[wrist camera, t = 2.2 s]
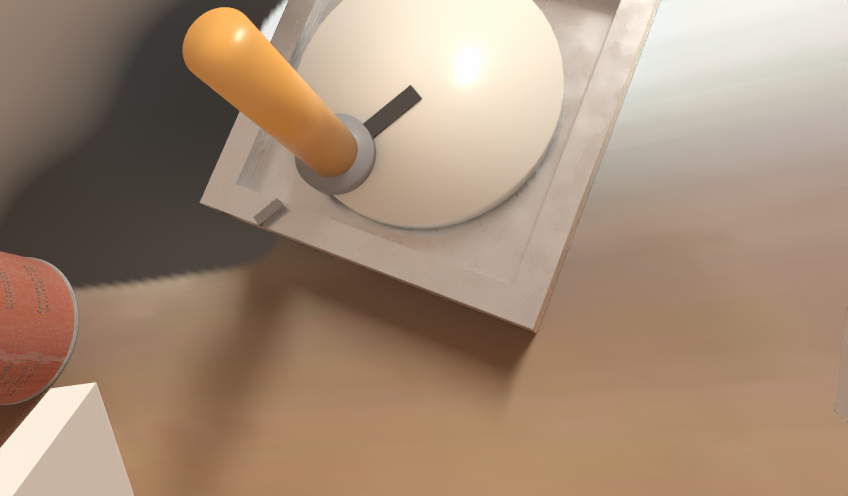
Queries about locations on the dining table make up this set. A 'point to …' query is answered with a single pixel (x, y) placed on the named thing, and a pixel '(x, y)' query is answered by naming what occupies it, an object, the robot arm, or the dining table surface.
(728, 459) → the dining table surface
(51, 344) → the canned food
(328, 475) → the dining table surface
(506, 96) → the dial
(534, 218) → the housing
